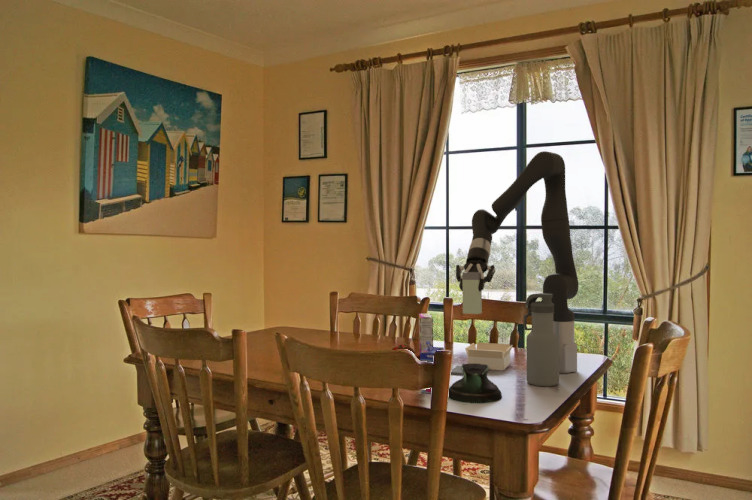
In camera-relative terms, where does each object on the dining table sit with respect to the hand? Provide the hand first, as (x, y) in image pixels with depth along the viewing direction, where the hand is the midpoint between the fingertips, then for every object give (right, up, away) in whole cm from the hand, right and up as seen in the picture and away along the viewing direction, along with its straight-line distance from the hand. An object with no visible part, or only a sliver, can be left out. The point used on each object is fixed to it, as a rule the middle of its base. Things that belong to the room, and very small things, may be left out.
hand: (470, 289), depth 207 cm
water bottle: (+20, -28, -17) cm, 38 cm away
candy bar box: (-13, -28, +25) cm, 40 cm away
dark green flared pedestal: (-4, -29, -32) cm, 43 cm away
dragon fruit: (-23, -28, +11) cm, 38 cm away
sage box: (+1, -8, +2) cm, 8 cm away
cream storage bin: (+8, -28, +10) cm, 31 cm away
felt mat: (-1, -28, 0) cm, 28 cm away
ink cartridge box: (-15, -29, -24) cm, 40 cm away
